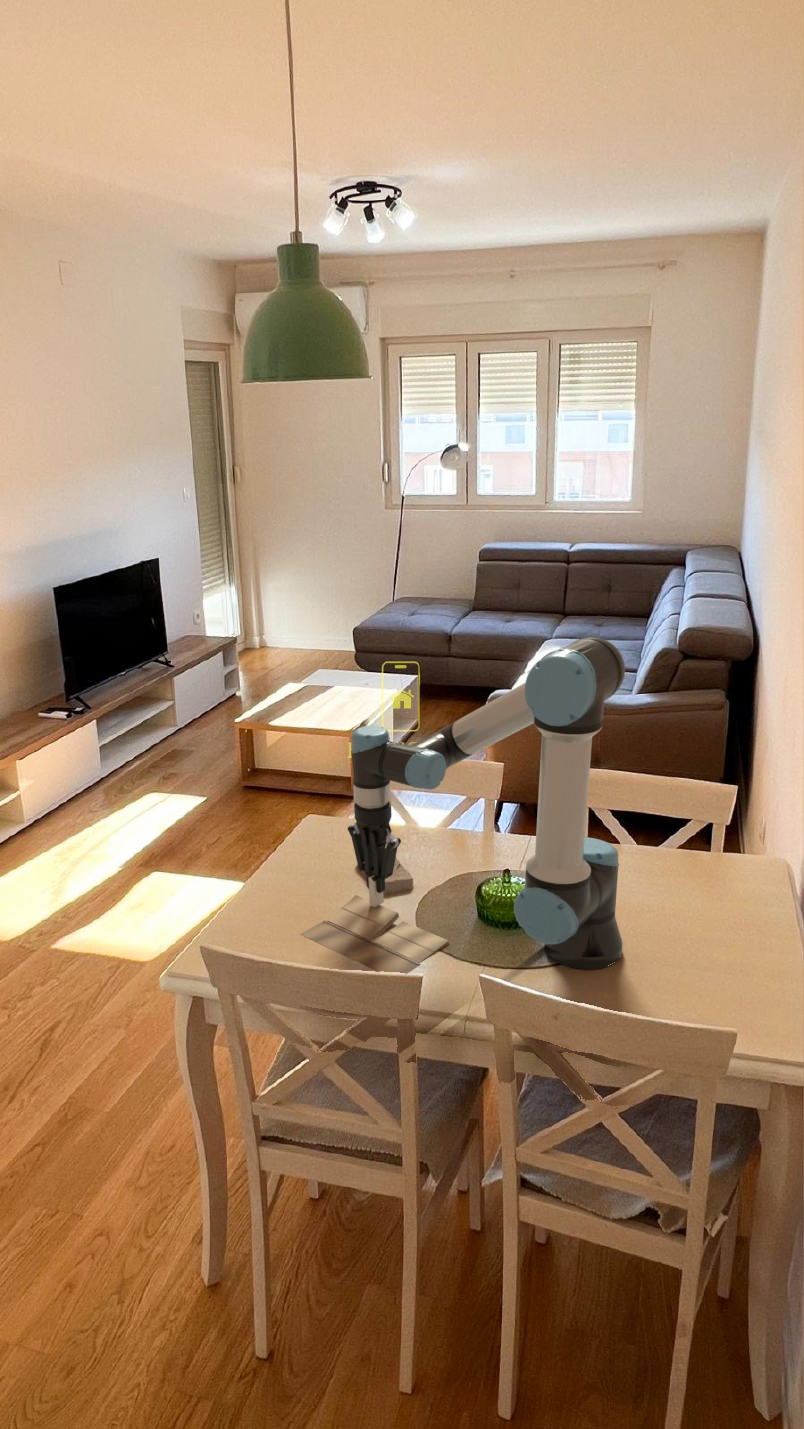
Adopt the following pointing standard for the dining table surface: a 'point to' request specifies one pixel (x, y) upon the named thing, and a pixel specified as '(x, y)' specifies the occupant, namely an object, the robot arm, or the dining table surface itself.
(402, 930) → the plank
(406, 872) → the brick
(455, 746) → the robot arm
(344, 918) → the plank
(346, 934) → the floorboard
